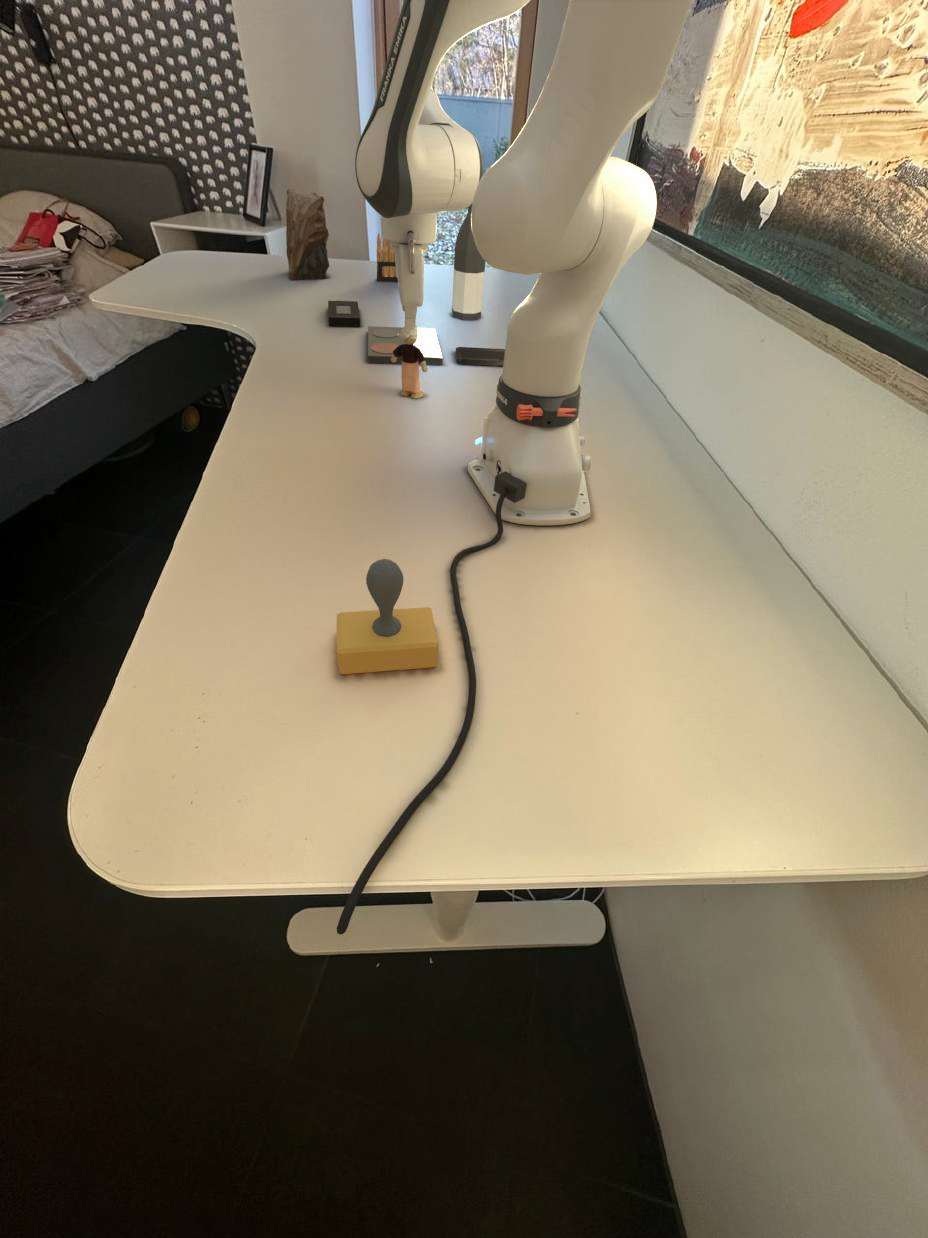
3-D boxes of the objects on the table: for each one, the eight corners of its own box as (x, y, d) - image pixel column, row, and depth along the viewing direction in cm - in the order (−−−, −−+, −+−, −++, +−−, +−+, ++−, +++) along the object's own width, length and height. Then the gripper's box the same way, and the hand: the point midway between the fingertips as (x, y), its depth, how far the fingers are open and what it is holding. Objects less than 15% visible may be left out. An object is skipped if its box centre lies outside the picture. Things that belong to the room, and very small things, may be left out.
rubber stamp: (430, 629, 61) (434, 541, 52) (437, 669, 57) (442, 580, 48) (339, 635, 59) (328, 545, 51) (339, 676, 55) (327, 586, 47)
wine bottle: (447, 317, 144) (454, 171, 124) (455, 309, 150) (462, 169, 129) (477, 321, 143) (488, 175, 123) (484, 313, 149) (495, 172, 128)
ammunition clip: (377, 281, 166) (375, 233, 158) (376, 279, 167) (375, 232, 159) (412, 282, 168) (412, 235, 160) (411, 280, 169) (411, 233, 161)
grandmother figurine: (431, 393, 108) (433, 323, 99) (425, 401, 105) (426, 329, 96) (394, 387, 109) (393, 317, 100) (387, 394, 106) (385, 322, 97)
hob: (442, 365, 119) (442, 357, 118) (368, 363, 117) (367, 355, 116) (434, 335, 133) (434, 327, 132) (368, 332, 131) (367, 325, 130)
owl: (289, 269, 169) (278, 187, 155) (330, 270, 171) (324, 189, 157) (289, 279, 160) (277, 194, 146) (333, 280, 163) (326, 196, 149)
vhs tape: (329, 326, 132) (328, 317, 131) (328, 309, 143) (328, 300, 141) (360, 327, 134) (359, 318, 132) (358, 309, 144) (357, 301, 142)
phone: (455, 346, 125) (519, 349, 126) (455, 351, 126) (519, 354, 127) (457, 358, 119) (525, 361, 121) (457, 364, 120) (524, 367, 121)
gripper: (434, 241, 81) (430, 340, 91) (424, 215, 96) (422, 302, 105) (391, 238, 80) (392, 338, 90) (388, 212, 95) (389, 301, 104)
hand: (408, 319), depth 98 cm, fingers open, 8 cm apart
